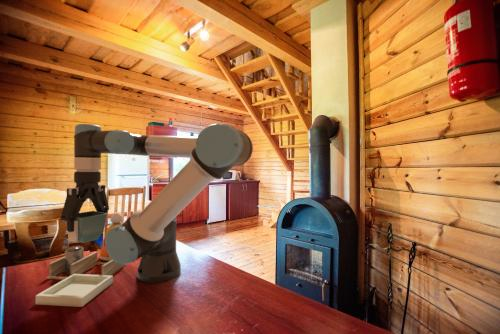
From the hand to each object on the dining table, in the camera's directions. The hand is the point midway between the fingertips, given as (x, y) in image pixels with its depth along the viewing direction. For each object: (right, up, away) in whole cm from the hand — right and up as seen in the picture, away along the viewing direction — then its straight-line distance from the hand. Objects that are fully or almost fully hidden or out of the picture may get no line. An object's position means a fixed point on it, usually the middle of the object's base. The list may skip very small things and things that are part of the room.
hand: (87, 236), depth 83 cm
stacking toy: (-3, -16, +24) cm, 29 cm away
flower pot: (0, -2, 0) cm, 2 cm away
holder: (-6, -16, +9) cm, 19 cm away
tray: (+1, -16, -6) cm, 17 cm away
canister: (-11, -16, +9) cm, 21 cm away
